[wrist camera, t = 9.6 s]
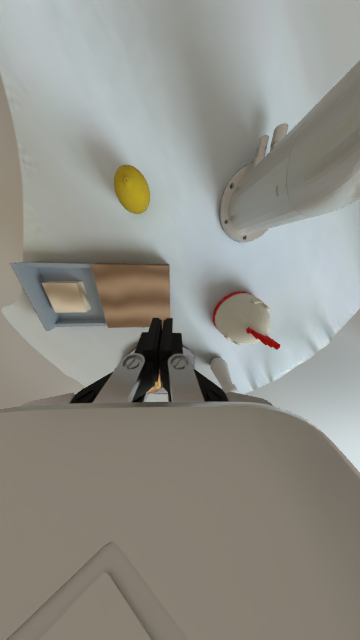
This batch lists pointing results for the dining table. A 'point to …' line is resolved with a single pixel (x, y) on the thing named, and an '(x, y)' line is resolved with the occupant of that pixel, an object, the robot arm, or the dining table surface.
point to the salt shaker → (222, 374)
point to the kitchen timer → (244, 319)
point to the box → (42, 272)
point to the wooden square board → (133, 293)
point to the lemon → (132, 189)
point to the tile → (67, 296)
